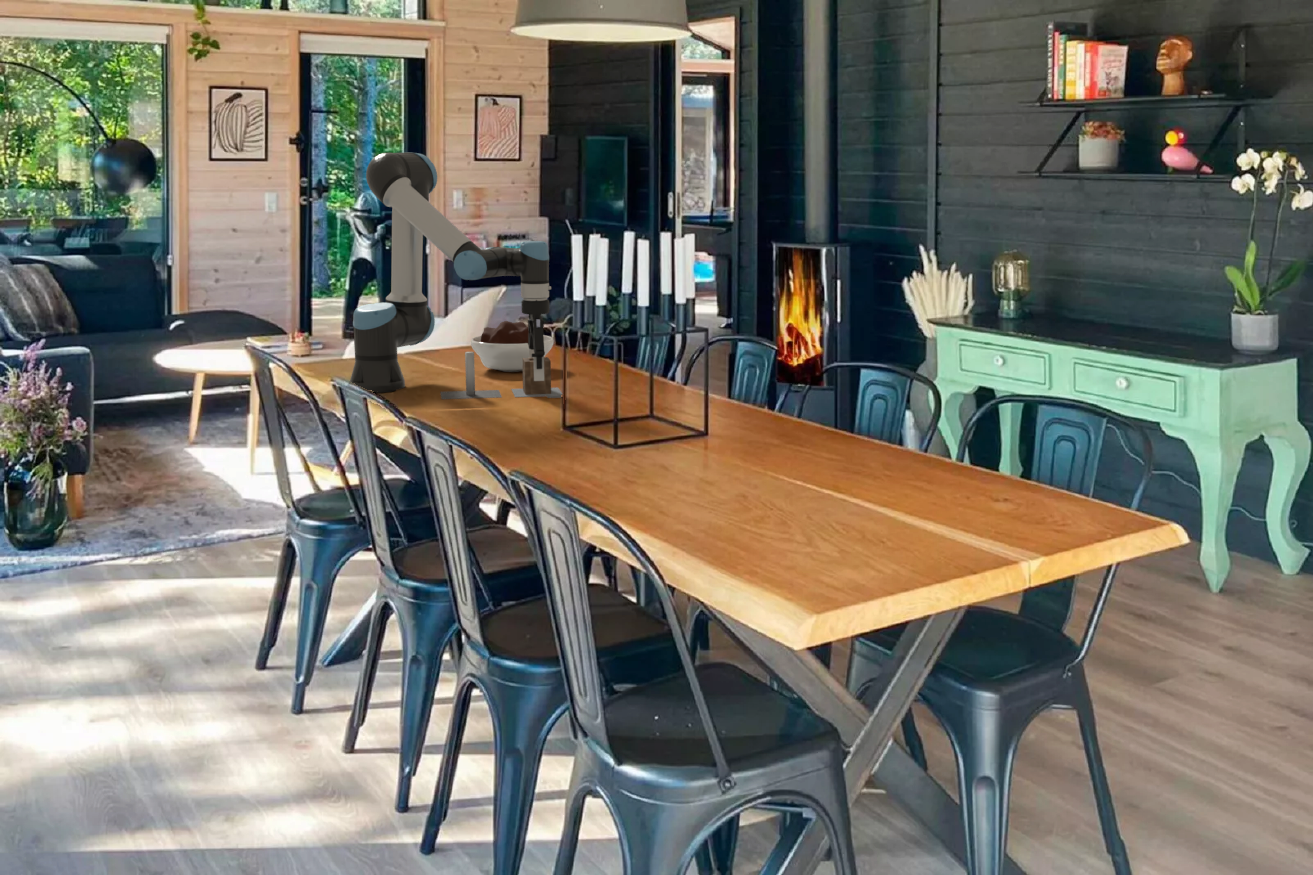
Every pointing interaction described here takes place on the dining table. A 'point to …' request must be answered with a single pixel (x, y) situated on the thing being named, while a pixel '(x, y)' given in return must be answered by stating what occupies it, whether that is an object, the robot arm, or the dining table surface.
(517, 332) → the white ceramic bowl
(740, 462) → the dining table surface
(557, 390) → the slate mat
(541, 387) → the walnut collar
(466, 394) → the post stand
